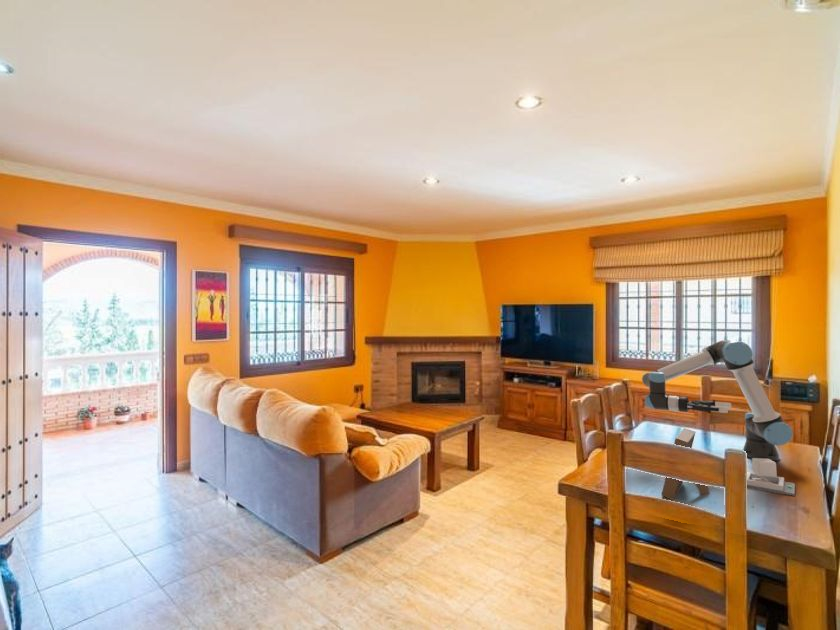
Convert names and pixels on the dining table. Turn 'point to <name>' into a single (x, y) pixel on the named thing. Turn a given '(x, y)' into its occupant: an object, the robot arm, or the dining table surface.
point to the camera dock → (771, 484)
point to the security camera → (763, 468)
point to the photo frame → (674, 485)
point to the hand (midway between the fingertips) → (729, 407)
